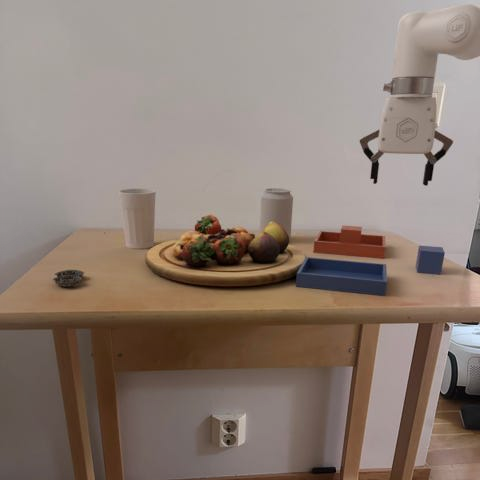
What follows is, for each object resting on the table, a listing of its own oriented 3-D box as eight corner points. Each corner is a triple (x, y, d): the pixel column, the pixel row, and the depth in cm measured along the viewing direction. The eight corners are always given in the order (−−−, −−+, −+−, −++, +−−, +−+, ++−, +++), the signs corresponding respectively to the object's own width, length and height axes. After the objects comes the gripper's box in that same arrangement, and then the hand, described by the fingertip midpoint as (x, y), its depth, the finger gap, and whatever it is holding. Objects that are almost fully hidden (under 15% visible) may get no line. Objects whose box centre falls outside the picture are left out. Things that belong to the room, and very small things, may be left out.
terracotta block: (359, 245, 112) (361, 226, 111) (358, 250, 108) (361, 230, 107) (340, 244, 113) (342, 225, 112) (339, 248, 109) (341, 229, 108)
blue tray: (384, 276, 92) (386, 264, 91) (384, 295, 82) (387, 281, 81) (304, 269, 96) (305, 256, 95) (295, 286, 86) (296, 273, 85)
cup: (119, 249, 106) (115, 193, 101) (124, 241, 113) (120, 188, 109) (156, 249, 107) (154, 194, 102) (158, 241, 114) (156, 188, 110)
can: (271, 244, 113) (274, 192, 109) (253, 238, 119) (255, 188, 114) (296, 241, 117) (300, 190, 112) (277, 235, 123) (280, 186, 118)
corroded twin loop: (51, 289, 81) (50, 283, 81) (57, 275, 88) (56, 269, 88) (82, 287, 82) (81, 281, 82) (85, 273, 89) (85, 268, 89)
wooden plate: (152, 245, 111) (150, 208, 108) (290, 244, 114) (292, 208, 110) (136, 290, 82) (133, 242, 78) (323, 288, 84) (327, 241, 81)
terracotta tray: (383, 246, 114) (385, 235, 113) (384, 258, 104) (385, 247, 103) (319, 241, 118) (319, 230, 117) (313, 252, 108) (314, 241, 107)
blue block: (438, 268, 98) (442, 247, 96) (440, 274, 94) (444, 252, 93) (415, 266, 99) (419, 245, 97) (416, 272, 95) (420, 250, 94)
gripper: (363, 89, 90) (354, 184, 96) (464, 88, 86) (447, 187, 92) (365, 91, 97) (356, 180, 103) (458, 90, 92) (443, 183, 99)
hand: (399, 183), depth 97 cm, fingers open, 9 cm apart
